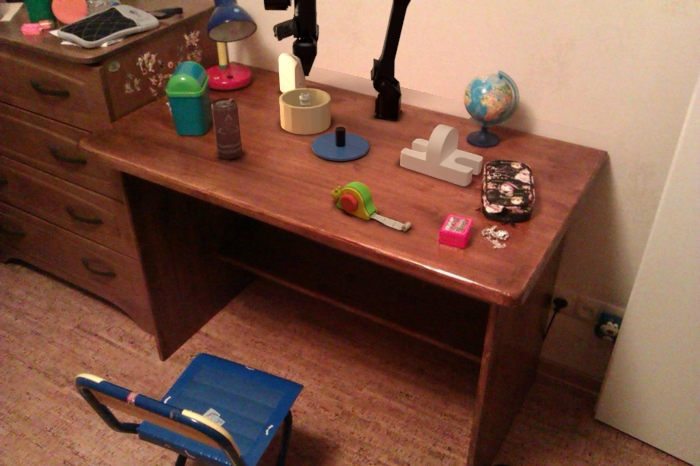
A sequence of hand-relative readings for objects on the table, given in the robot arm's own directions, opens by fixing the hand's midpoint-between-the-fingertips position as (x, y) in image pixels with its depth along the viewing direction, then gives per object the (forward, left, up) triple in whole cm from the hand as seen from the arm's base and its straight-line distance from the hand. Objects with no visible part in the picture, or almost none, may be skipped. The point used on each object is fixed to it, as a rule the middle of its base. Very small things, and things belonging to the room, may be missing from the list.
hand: (307, 69), depth 164 cm
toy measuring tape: (-31, +44, -13) cm, 55 cm away
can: (+10, +29, -13) cm, 33 cm away
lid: (-15, +17, -12) cm, 26 cm away
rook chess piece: (-2, +6, -13) cm, 14 cm away
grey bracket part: (-41, +18, -13) cm, 47 cm away
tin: (-1, +6, -13) cm, 14 cm away
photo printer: (+10, -11, -13) cm, 20 cm away
